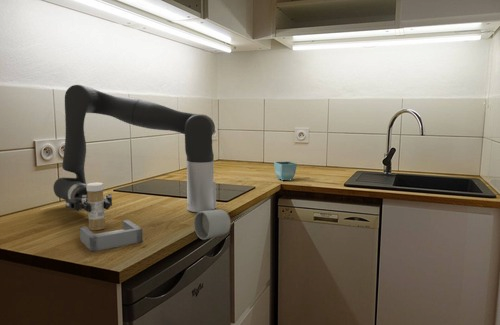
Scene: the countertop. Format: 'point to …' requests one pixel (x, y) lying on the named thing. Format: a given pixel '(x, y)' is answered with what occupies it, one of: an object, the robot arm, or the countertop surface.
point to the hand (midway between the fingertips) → (98, 207)
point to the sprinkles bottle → (96, 206)
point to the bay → (111, 237)
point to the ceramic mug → (211, 223)
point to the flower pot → (285, 170)
